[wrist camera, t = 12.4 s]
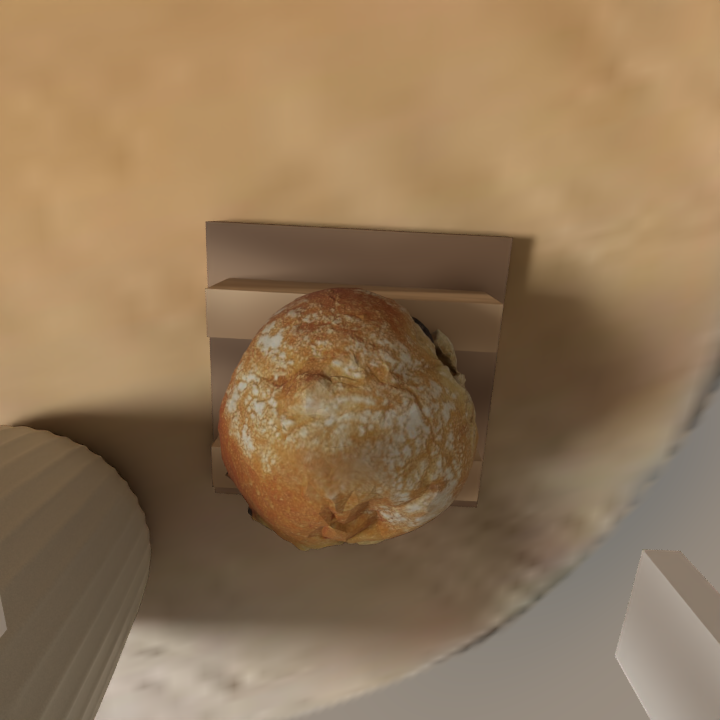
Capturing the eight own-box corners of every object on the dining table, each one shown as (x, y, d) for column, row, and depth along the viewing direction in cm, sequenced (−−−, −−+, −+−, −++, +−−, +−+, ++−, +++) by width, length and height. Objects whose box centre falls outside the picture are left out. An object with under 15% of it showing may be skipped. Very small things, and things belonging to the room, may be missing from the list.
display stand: (212, 221, 24) (177, 223, 19) (506, 237, 24) (537, 242, 19) (220, 483, 28) (192, 533, 23) (473, 497, 28) (492, 549, 23)
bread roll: (468, 394, 25) (576, 395, 17) (349, 575, 23) (411, 668, 15) (311, 267, 23) (353, 206, 16) (167, 449, 21) (133, 482, 14)
